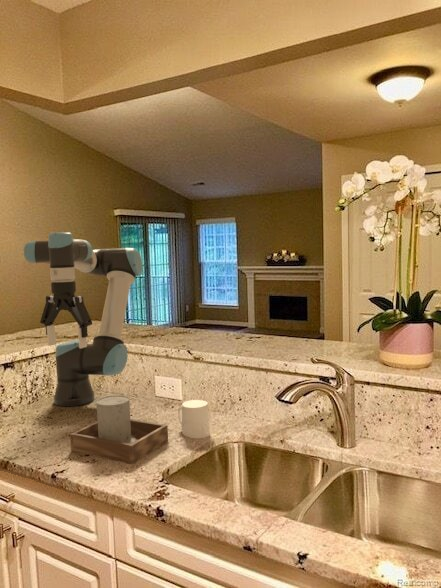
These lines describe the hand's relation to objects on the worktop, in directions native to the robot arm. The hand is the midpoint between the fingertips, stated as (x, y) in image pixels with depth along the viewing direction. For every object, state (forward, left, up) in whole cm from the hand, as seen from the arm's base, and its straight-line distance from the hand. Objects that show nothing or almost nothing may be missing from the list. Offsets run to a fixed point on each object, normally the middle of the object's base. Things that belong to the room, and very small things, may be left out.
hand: (67, 346), depth 160 cm
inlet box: (+7, +26, -27) cm, 38 cm away
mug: (-11, +40, -27) cm, 49 cm away
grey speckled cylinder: (+7, +24, -26) cm, 36 cm away
